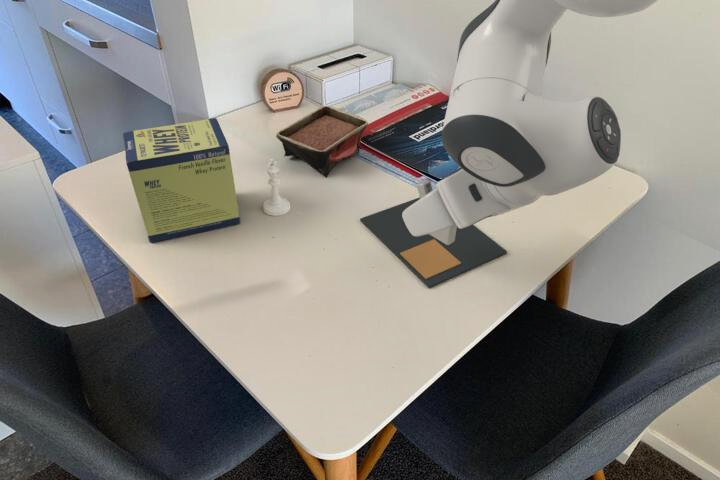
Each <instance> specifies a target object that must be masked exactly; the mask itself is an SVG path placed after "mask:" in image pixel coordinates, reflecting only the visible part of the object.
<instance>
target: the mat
mask: <svg viewBox="0 0 720 480" xmlns="http://www.w3.org/2000/svg"><path fill="white" fill-rule="evenodd" d="M419 199H420V196H419V197H417V198H414V199H411V200H408V201H405V202H402V203H399V204H397V205H394V206H391V207H389V208H386V209H383V210H380V211H377V212H374V213H371V214H369V215H366V216H363V217H361V218H360V219H359V221H360V223H362V224H363V226H365V227H366V228H367V229H368V230H369V231H370V232H371V233H372V234H373V235H374V236H375V237H376V238H377V239H378V240H379V241H380V242H381V243H382V244H383V245H384V246H385V247H386V248H387V249H388V250H389V251H390V252H391V253H392V254H393V255H395V257H396V258H397V259H398V260H399V261H400V262H401V263H402V264H404V266H405V267H406V268H407V269H408V270H409V271H411V272H412V274H414V275H415V276H416V278H418V279H419V281H421V282H422V283H423V284H424V285H425V286H426V287H427V288H428V289H431V288H433V287H435V286H438V285H440V284H443V283H445V282H447V281H449V280H452V279H454V278H457V277H459V276H460V275H463V274H465V273H468V272H470V271H472V270H473V269H476V268H478V267H480V266H482V265H485V264H487V263H490V262H492V261H494V260H497V259H498V258H500V257H503V256H505V255H507V254H508V251H507V250H506V249H505V248H504V247H502V246H501V245H500V244H498V243H497V242H496V241H495V240H493V239H492V238H491V237H490V236H488V235H487V234H486V233H484V231H482V230H480V229H479V228H478V227H477V226H475V224H473V225H470V226H468V227H465V228H462V229H459V228H458V227H457V229H456V235H455V241H454V242H452V243H451V244H450V245H446V244H445V243H443V242H441V241H440V240H438V239H436V238H435V237H433V236H431V235H430V234H426V235H422V236H413V235H412V234H411V233H410V232H409V230H408V228H407V226H406V224H405V222H404V220H403V217H402V213H403V211H404V210H405V209H406V208H408V207H409V206H411V205H412V204H413V203H415V202H416V201H418V200H419Z"/></svg>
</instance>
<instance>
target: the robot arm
mask: <svg viewBox="0 0 720 480" xmlns="http://www.w3.org/2000/svg"><path fill="white" fill-rule="evenodd" d="M658 1H659V0H494V2H492V3H491V4H490V5H489V6H488V7H487V8H485V9H484V10H483V11H482V12H480V13H479V14H478V15H477V16H476V17H474V18H473V19H472V20H471V21H470V22H469V23H468V24H467V25H466V27H465V28H464V30H463V31H462V33H461V36H460V39H459V42H458V43H459V45H458V51H457V57H456V58H457V59H456V67H455V71H454V76H453V80H452V84H451V87H450V88H451V89H450V93H449V96H448V102H447V107H446V110H445V115H444V120H443V125H442V130H441V133H440V134H441V136H440V139H441V143H442V146H443V148H444V149H445V151H446V153H447V154H448V156H449V157H450V158H451V159H452V160H453V162H454V163H455V164H457V165H458V166H459V167H458V168H456V169H455V170H454V171H452V172H450V173H449V174H448V175H446V176H444V177H443V178H442V179H441V180H439V181H437V182H436V187H435V188H433V190H432V191H431V192H429V193H428V194H427V195H425V196H424V197H422V198H421V199H419V200H418V201H416V202H415V203H413V204H412V205H411V206H409V207H408V208H406V209H405V210H404V211H403V213H402V217H403V220H404V222H405V224H406V226H407V228H408V230H409V232H410V233H411V234H412V235H413V236H422V235H426V234H430V233H434V232H438V231H441V230H445V229H448V228H450V227H453V226H456V225H457V227H458V228H459V229H462V228H465V227H468V226H470V225H475V224H477V223H479V222H481V221H483V220H485V219H488V218H493V217H497V216H500V215H504V214H506V213H509V212H512V211H515V210H517V209H521V208H523V207H526V206H529V205H531V204H533V203H535V202H537V201H538V200H540V198H542V197H544V196H545V197H551V196H556V195H559V194H562V193H565V192H568V191H570V190H573V189H575V188H578V187H580V186H582V185H585V184H587V183H589V182H591V181H593V180H595V179H596V178H599V177H600V176H602V175H604V174H605V173H607V172H608V171H609V170H611V169H612V168H613V167H614V166H615V164H617V162H618V159H619V157H620V153H621V145H622V143H621V141H622V136H621V135H622V131H621V127H620V124H619V121H618V119H619V118H618V116H617V114H616V113H615V111H614V109H613V108H612V106H611V105H610V104H609V103H608V102H607V100H605V99H604V98H602V97H600V96H588V97H585V98H581V99H579V100H576V101H562V100H560V101H559V100H554V99H549V98H545V97H542V91H543V85H544V78H545V74H546V73H545V72H546V68H547V65H548V60H549V55H550V50H551V46H552V45H551V44H552V30H553V28H554V27H555V25H556V24H557V23H558V22H559V20H560V19H561V18H562V16H563V15H564V14H565V12H567V11H568V10H569V11H572V12H574V13H577V14H581V15H583V16H587V17H592V18H593V17H595V18H616V17H622V16H628V15H632V14H636V13H639V12H642V11H645V10H646V9H648V8H649V7H651V6H652V5H653V4H655V3H657V2H658Z"/></svg>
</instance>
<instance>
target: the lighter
mask: <svg viewBox="0 0 720 480" xmlns="http://www.w3.org/2000/svg"><path fill="white" fill-rule="evenodd" d="M416 189H417V192H418V195H419V197H420V199H421V198H422V197H424V196H425V195H427V194H428V193H429V192H431V191H432V190H434V187H433V184H432V180H430V179H429V180H428V179H427V180H425V179H424V180H421V181H420V182H418V183H417V184H416ZM456 229H457V225H456V226H453V227H450V228H448V229H445V230H441V231H438V232H434V233H430V235H431V236H433V237H435V238H436V239H438V240H440V241H441V242H443V243H445V244H446V245H450V244H451V243H452V242H454V241H455V235H456Z"/></svg>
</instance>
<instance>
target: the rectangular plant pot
mask: <svg viewBox="0 0 720 480" xmlns="http://www.w3.org/2000/svg"><path fill="white" fill-rule="evenodd" d="M368 125H369V121H368V120H366V119H365V118H363V117H361V116H359V115H356V114H354V113H351V112H348V111H346V110H343V109H339V108H336V107H334V106H329V105H322V106H320V107H319V108H316V109H315V110H313V111H311V112H310V113H308V114H307V115H305V116H303V117H301V118H300V119H298V120H296V121H294V122H292V123H291V124H289V125H288V126H286V127H284V128H282V129H281V130H279V131H278V132H276V135H275V137H276V138H277V140H279V142H281V144H282V147H283V150H284V155H283V157H294V156H295V157H296V156H297V157H299V158H300V159H301V160H302V161H303V162H305V163H306V164H307V165H309V167H311V169H313V170H314V171H316V172H318V173H319V174H320V175H322V176H323V177H325V178H328V176H329V174H330V173H331V171H332V170H333V169H334V168H335V166H336V165H338V163H340V161H341V160H342V159H343V160H344V159H349V158H351V157H352V156H354V155H356V154H357V155H360V146H359V142H360V140H361V137H362V135H363V133H364V132H365V130H366V128H367V127H368Z"/></svg>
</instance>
